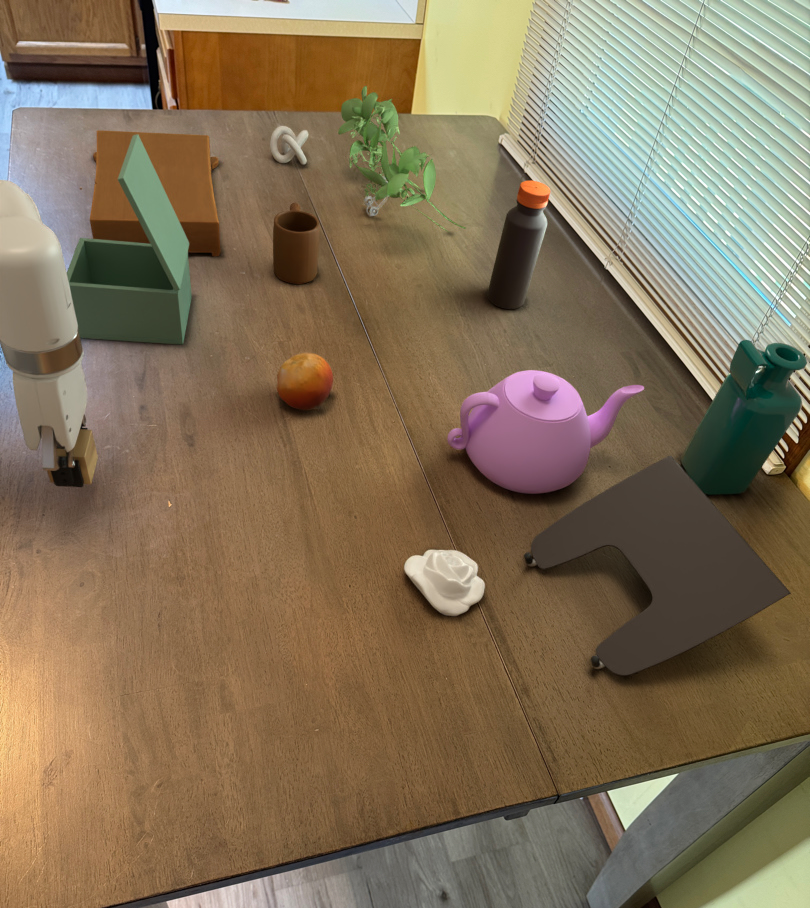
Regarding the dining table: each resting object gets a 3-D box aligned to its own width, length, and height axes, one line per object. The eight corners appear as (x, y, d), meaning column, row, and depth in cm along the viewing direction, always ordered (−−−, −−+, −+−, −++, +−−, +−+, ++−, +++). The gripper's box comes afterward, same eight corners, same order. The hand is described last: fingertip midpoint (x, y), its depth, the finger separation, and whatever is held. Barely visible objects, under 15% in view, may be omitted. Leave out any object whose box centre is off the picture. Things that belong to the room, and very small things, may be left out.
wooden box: (78, 219, 123) (88, 121, 144) (86, 256, 128) (94, 156, 149) (228, 222, 128) (216, 127, 149) (230, 258, 133) (218, 161, 154)
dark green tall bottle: (725, 454, 117) (801, 331, 100) (750, 495, 111) (835, 373, 95) (666, 455, 115) (734, 330, 98) (689, 497, 109) (765, 373, 93)
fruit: (337, 417, 108) (311, 371, 103) (290, 428, 111) (262, 384, 106) (350, 382, 113) (325, 337, 108) (304, 394, 116) (278, 350, 111)
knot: (268, 166, 156) (268, 136, 151) (272, 148, 161) (272, 119, 156) (305, 171, 157) (306, 141, 152) (308, 153, 162) (309, 124, 157)
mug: (271, 246, 137) (272, 194, 130) (314, 248, 138) (317, 197, 131) (273, 284, 129) (273, 231, 122) (318, 286, 131) (321, 234, 123)
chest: (74, 337, 113) (61, 284, 107) (90, 289, 121) (79, 237, 115) (183, 345, 116) (177, 293, 109) (191, 297, 124) (187, 246, 117)
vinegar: (497, 312, 133) (527, 199, 118) (480, 290, 137) (506, 178, 121) (531, 307, 135) (564, 196, 120) (512, 286, 139) (542, 176, 124)
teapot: (454, 503, 102) (475, 426, 92) (433, 414, 113) (450, 336, 103) (628, 502, 107) (667, 428, 97) (592, 416, 118) (623, 342, 108)
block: (50, 482, 91) (42, 455, 87) (58, 455, 94) (50, 427, 90) (91, 484, 92) (84, 457, 88) (98, 457, 94) (91, 429, 91)
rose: (398, 582, 87) (416, 521, 93) (393, 604, 90) (411, 544, 97) (483, 605, 87) (496, 542, 93) (475, 626, 90) (488, 564, 96)
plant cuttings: (382, 201, 167) (303, 137, 151) (436, 136, 159) (360, 62, 144) (435, 293, 146) (350, 230, 131) (500, 224, 139) (419, 148, 124)
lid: (117, 179, 96) (123, 177, 96) (132, 135, 104) (138, 133, 104) (174, 291, 109) (180, 290, 109) (184, 244, 117) (189, 243, 117)
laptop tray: (521, 566, 104) (509, 534, 97) (670, 483, 104) (670, 444, 96) (614, 712, 92) (609, 688, 84) (784, 617, 91) (794, 585, 84)
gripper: (22, 292, 83) (56, 418, 97) (-21, 396, 73) (24, 521, 87) (95, 298, 84) (118, 422, 98) (63, 401, 74) (94, 523, 88)
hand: (74, 467), depth 92 cm, fingers closed on block, 4 cm apart
